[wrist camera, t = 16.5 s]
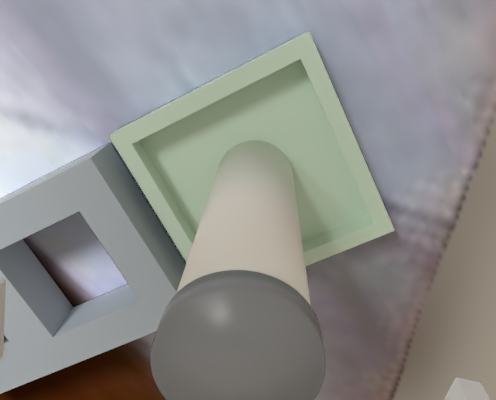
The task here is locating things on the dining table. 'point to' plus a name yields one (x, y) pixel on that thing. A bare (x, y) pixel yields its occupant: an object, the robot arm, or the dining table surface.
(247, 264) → the cartridge
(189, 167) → the tray
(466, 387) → the robot arm
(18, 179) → the dining table surface
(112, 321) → the housing
